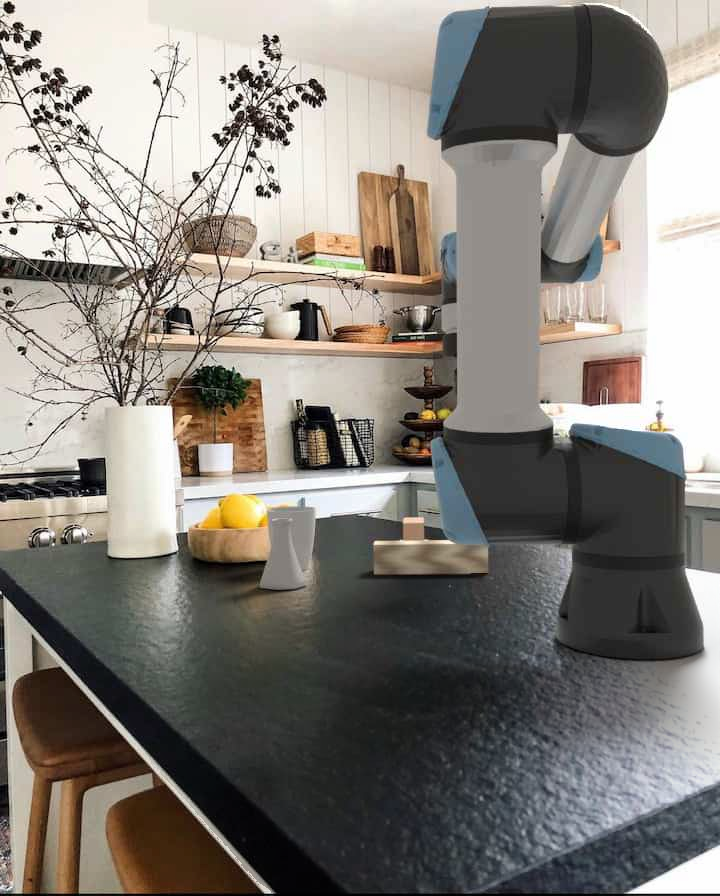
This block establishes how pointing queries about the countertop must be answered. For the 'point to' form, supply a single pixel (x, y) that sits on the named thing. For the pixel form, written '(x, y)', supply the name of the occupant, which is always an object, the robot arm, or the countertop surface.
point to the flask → (282, 560)
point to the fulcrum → (413, 529)
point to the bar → (429, 557)
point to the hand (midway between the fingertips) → (468, 466)
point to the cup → (297, 530)
